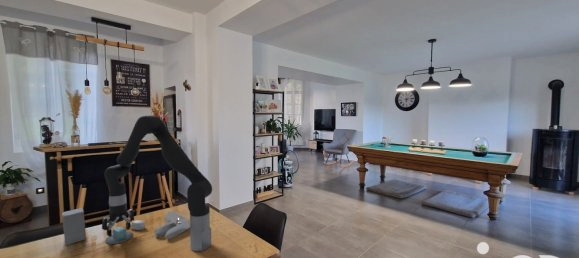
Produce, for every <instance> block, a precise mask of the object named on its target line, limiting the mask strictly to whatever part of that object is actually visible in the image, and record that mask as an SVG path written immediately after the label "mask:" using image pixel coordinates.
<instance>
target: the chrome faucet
mask: <svg viewBox="0 0 579 258" xmlns="http://www.w3.org/2000/svg"><path fill="white" fill-rule="evenodd" d="M164 221H165V222H166V223H165V224H163V225H160V226H158V227H156V228H155V229H154V235H155V236H156V237H157V238H161V237H164V236H165V239H167V240H171V239H173V238H175V237H177V236H178V235H180V234H182V233H184V232H185V231H187V230H189V229H190V220H188V219H187V217H185V216H183V215H182V214H179V213H178V212H176V211H174V210H171V211H168V212H167V213H166V214H165V216H164Z"/></svg>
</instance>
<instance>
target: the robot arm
mask: <svg viewBox="0 0 579 258" xmlns="http://www.w3.org/2000/svg"><path fill="white" fill-rule="evenodd" d="M150 134H152V135H154V136H155V139H157V141H158V143H160V148H161V154H162V157H163V159H164V160H165V162H166V163H167V164H168V166H169V167H170V168H171V169H173V170H174V171H175V172H177V173H179V174H180V175H182V176H183V177H185V178H187V180H188V181H189V182H190V185H188V187H187V191H186V200H187V209H188V211H189V223H190V226H189V233H190V235H189V237H190V238H189V239H190V240H189V241H190V250H191V251H193V252H201V253H202V252H204V251H206V250H207V249H209V248H210V247H212V227H211V221H210V220H211V217H210V215H211V214H210V213H211V210H210V209H211V208H210V205H209V204H206V198H208V196H210V195H211V194H212V192H213V186H212V183H211V182H210V181H209V179H208V178H207V177H206V176H204V175H203V173H202V172H201V171H200V170H199V169H198V168H197V167H196V165H195V164H194V163H193V161H192V160H191V159H190V158H189V156H188V155H187V154H186V152H185V151H184V150H183V148H182V147H181V146H180V145H179V143H178V142H177V141H176V139H175V137H173V135H172V134H171V133H170V131H169V130H168V128H167V125H165V123H164V121H163V120H162V118H161V117H160V116H157V115H142V116H140V117H139V118H138V119H137V120H136V122H135V124H134V126H133V128H132V131H131V132H130V135H129V138H128V140H127V142H126V144H125V145H124V147H123V149H122V150H121V152H120V154H119V155H118V156H117V158H116V162H117V164H116V165H113V166H109V167H107V168H106V169H105V171H104V175H103V176H104V179H105V182H106V184H107V187H108V196H109V197H108V207H109V208H108V209H109V216H108V217H102V218H101V229H102V230H103V231H106V235H107V237H111V236H112V235H113V233H112V231H113V226H115V224H118V223H120V222H124V221H125V229H126V231H129V230H130V229H131V226H130V224H131V223H132V222H133V221H135V212H134V209H132V208H130V209H128V207H127V204H128V202H127V194H126V193H127V192H126V183H125V182H122V181H121V182H120V180H119V179H121V178H124V177H126V176H127V175H128V174H129V172H130V170H131V167H132V164H133V162H134V161H135V159H136V158H137V156H138V155H139V152H140V148H141V147H140V146H141V142H142V140H143V139H144V138H145V137H146V136H147V135H150ZM128 215H129V218H128V217H127V216H128Z"/></svg>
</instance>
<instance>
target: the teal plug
mask: <svg viewBox="0 0 579 258" xmlns="http://www.w3.org/2000/svg"><path fill="white" fill-rule="evenodd" d="M126 232H127V229H126V228H125V227H122V226H118V227H115V228H112V235H113V238H115V239H117V240H119V241H122V240H125V239H126V238H127V235H126Z"/></svg>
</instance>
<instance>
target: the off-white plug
mask: <svg viewBox="0 0 579 258" xmlns="http://www.w3.org/2000/svg"><path fill="white" fill-rule="evenodd" d="M130 227H131V229H132V230H136V231H143V230H145V229H146V221H145V220H138V219H136V220H133V221H131V222H130Z"/></svg>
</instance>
